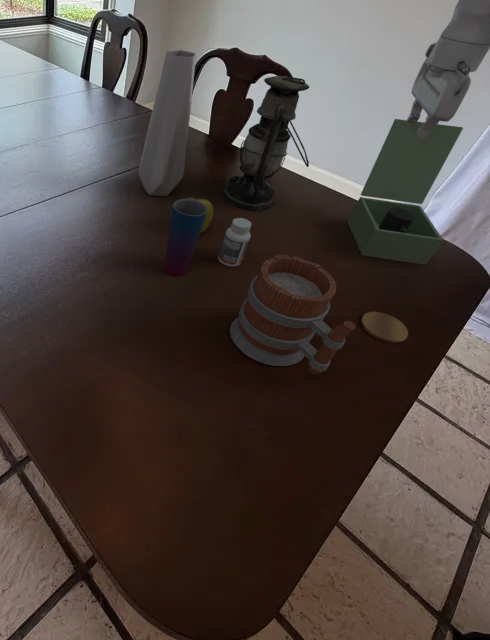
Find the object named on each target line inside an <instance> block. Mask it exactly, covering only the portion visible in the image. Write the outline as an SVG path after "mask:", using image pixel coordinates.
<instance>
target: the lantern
mask: <svg viewBox="0 0 490 640" xmlns="http://www.w3.org/2000/svg"><path fill="white" fill-rule="evenodd" d="M263 82H264V83H265V84H266V85H267V86H269V88H268V89H267V91H266V92H265V95H264V98H263V99H262V102H261V104H260V106H259V107H258V108H257V110H256V112H257V115H259V116H260V119H259V122H258V123H255V124H253V126H251V127H249V129H248V133H247V136H245V139H244V140H243V141H242V142H241V144H240V149H239V150H240V151H239V153H240V154H239V163H240V166H239V170H240V171H241V173H243V175H240V176H239V175H233V176H231V177H230V178H229V180H228V183H227V185H226V186H225V187H224V188H223V189H222V190H221V193H220V195H221V198H222V199H223V201H225V202H226V203H227V204H229V205H231V206H233V207H235V208H238V209H240V210H245V211H249V212H250V211H251V212H262V211H267V210H270V209H271V208H272V207H273V206H274V205H275V202H274V199H275V198H274V197H275V196H274V194H275V188H274V187H273V186H272V185H271V184H270V183H269V182H268V181H267V180H266V179H269V178H272V177H273V176H275V174H276V173H278V171H279V170H280V169H281V168H282V167H283V164H284V162H285V160H286V156H287V155H288V152H287V150H288V143H289V141H290V139H292V140H293V143H294V145H295V146H296V149H297V150H298V153H299V155H300V157H301V159H302V161H303V163H304V165H305V166H306V167H307V168H308V167H310V164H309V163H310V162H309V159H308V155H307V151H306V149H305V147H304V143H303V142H302V140H301V138H300V137H299V136H300V135H298V133H297V130H296V128H295V127H294V124H293V123H292V121H293V120H296V116H297V115H296V109H297V106H298V102H299V99H300V94H299V92H303V91H307V90H308V89H310V85H309V84H308V83H306V80H305V79H303V78H300V77H294V76H289V75H288V76H287V75H275V76H270V77H266V78H264V79H263ZM288 122H289V124H290V126H291V127H292V129H293V132H294V133H295V135H296V138H297V140H298V141H299V144H300V146H301V148H302V150H303V153H304V155H303V153H302V151H301V149H300V147H299V145H298V143H297V140H296V139H295V137H294V135H293V133H292V131H291V130H290V128H289V126H288Z"/></svg>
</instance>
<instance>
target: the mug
mask: <svg viewBox="0 0 490 640" xmlns="http://www.w3.org/2000/svg"><path fill="white" fill-rule="evenodd" d="M336 292H337V284H336V281H335V278H334V277H333V275H331V274H330V273H329V272H328V271H327V270H325V269H324V268H323V267H321V265H320V264H319V263H316V262H312V261H309V260H305V259H302V258H301V257H299V256H288V254H280V255H279V254H278V255H275V256H274V257H272V258H269V259H267V260H265V261H264V262H263V263H262V265H261V268H260V270H259V273H258V275H256V276H255V277H254V278H253V279H252V280H251V283H250V285H249V288H248V290H247V298H246V299H245V300H243V303H242V304H241V308H240V310H239V312H238V317H236V318H235V319H234V320H233V321H232V322H231V324H230V330H229V332H230V333H229V334H230V337H231V340H232V342H233V343H234V344H235V346H236V347H237V348H238V349H239V351H241V352H242V353H243V354H244V355H246V356H247V357H248V358H250V359H252V360H254V361H256V362H258V363H261V364H264V365H267V366H274V367H286V366H292V365H295V364H298V363H300V361H302V360H303V359H304V357H305V358H307V359H308V365H307V373H308V374H309V375H312V376H316V375H319V374H321V373H323V372H324V371H327V370H328V368H329V366H330V365H331V360H332V358H333V357H334V356H335V354H336V353H337V351H338V350H340V349H342V348H343V346H344V344H345V343H346V337H347V336H348V335H349V334H350V333H352V331H354V330H355V328H356V325H355V323H354V322H352V321H349V320H345V321H344V322H343V323H342V324H339V325H336V327H335V328H331V327H330V326H328V324H326V323H325V322H324V319H325V317H326V316H327V314H328V313H329V311H330V307H331V300H332V299H333V297H334V296H335V294H336ZM315 334H317V335H318V336H320V337H321V338H322V343H321V345H320V347H319V348H318V349H316V348H315V347H314V346H313V344H311V343H310V342H311V340H312V339H313V338H314V335H315Z"/></svg>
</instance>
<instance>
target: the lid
mask: <svg viewBox="0 0 490 640" xmlns="http://www.w3.org/2000/svg"><path fill="white" fill-rule="evenodd" d="M424 123H425V121H424V122H423V121H417V123H415V124H412V123H409V122H408V121H407V119H400V118H394V120H393V122H392V124H391V127H390V129H389V131H388V133H387V136H386V137H385V139H384V142H383V144H382V146H381V149H380V151H379V153H378V155H377V158H376V160H375V162H374V164H373V166H372V168H371V170H370V173H369V176H368V177H367V179H366V182H365V184H364V186H363V187H362V190H361V193H360V197H366V198H373V199H380V200H387V201H394V202H401V203H403V202H404V203H408V204H415V205H423V203H424V202H425V200H426V198H427V196H428V194H429V192H430V191H431V189H432V188H433V185H434V183H435V181H436V180H437V178H438V175H440V172H441V171H442V168H443V166H444V165H445V163H446V161H447V159H448V157H449V155H450V153H451V152H452V150H453V148H454V147H455V145H456V143H457V141H458V139H459V137H460V135H461V133H462V131H463V130H464V127H463V126H458V125H457V126H456V125H447V124H439V123H438V124H437V125H436V126H435V127H434V128H433V129H432V130H431V131H430V132H429V134H428V136H427V137H426V138H424V139H423V138H418V137H417V135H416V133H417V131H418V129H419V128H420V127H422V125H423V124H424Z"/></svg>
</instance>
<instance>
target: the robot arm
mask: <svg viewBox="0 0 490 640" xmlns="http://www.w3.org/2000/svg"><path fill="white" fill-rule="evenodd" d="M489 50H490V0H458V1H457V3H456V5H455V7H454V10H453V14H452V17H451V19H450V22H449V23H448V25H446V27H445V28H444V30H442V32H441V33H440V35H439V37H438V39H437V41H435V42H434V43H431V44H430V45H429V46H428V47H427V49H426V52H425V54H424V57H425V59H424V61H423V62H422V64H421V67H420V68H419V70H418V73H417V75H416V78H415V80H414V82H413V84H412V87H411V92H410V93H411V95H412V96H413V97H414V98H415V99H414V101H413V103H412V106H411V109H410V113H409V115H408V117H407V119H406V120H407V121H408V122H409V123H412V124H415V123H417V122H419V119H420V118H421V113H422V111H425V113H426V115H427V116H426V117H425V121H424V122H425V123H424V124H423V125H422V127H420V128H419V129H418V131H417V133H416V135H417V137H418V138H423V139H424V138H426V137H427V136H428V134H429V132H430V131H431V130H432V129H433V128H434V127H435V126H436V125H437V124H439V122H447V123H448V122H449V121H450V120H452V119H453V118H454V117H455V115H456V114H457V112H458V110H459V108H460V106H461V104H462V103H463V101H464V99H465V97H466V95H467V93H468V91H469V89H470V86H471V84H472V79H471V77H470V73H474V72H477V70H478V69H479V67H480V65H481V64H482V62H483V60H484V58H485V57H486V55H487V54H488V52H489Z"/></svg>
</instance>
